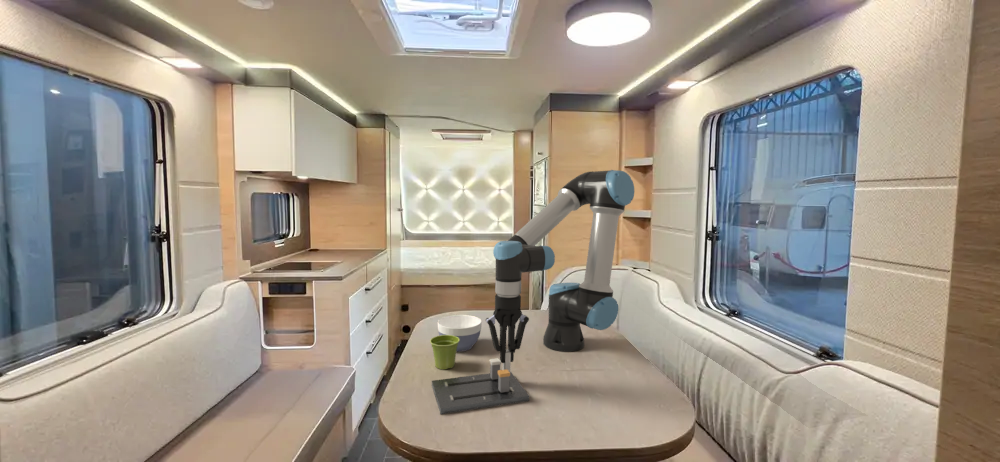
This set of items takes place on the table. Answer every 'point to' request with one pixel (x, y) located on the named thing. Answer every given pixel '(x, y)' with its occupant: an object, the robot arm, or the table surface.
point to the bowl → (461, 329)
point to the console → (475, 393)
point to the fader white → (494, 368)
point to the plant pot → (444, 350)
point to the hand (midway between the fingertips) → (506, 372)
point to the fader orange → (503, 380)
